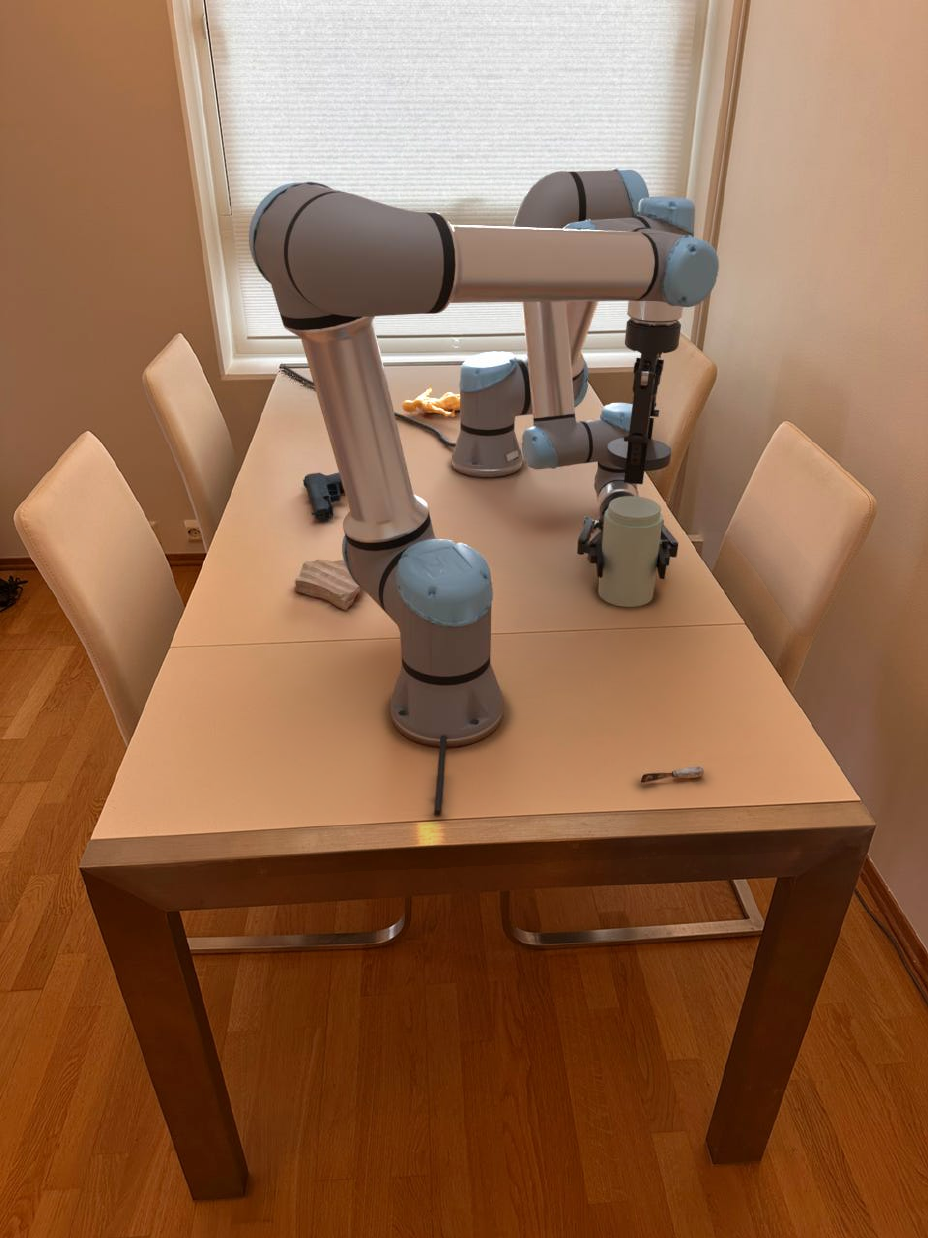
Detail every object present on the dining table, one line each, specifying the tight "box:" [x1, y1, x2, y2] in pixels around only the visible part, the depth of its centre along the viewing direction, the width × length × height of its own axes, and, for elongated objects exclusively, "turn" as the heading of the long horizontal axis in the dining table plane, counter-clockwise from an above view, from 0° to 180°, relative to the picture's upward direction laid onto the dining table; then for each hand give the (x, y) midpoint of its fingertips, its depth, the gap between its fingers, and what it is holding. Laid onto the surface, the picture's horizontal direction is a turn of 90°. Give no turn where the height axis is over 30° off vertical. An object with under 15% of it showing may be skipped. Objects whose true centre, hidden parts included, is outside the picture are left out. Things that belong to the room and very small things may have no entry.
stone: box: [294, 559, 363, 611], centre depth 149 cm, size 13×12×3 cm
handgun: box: [302, 472, 345, 523], centre depth 178 cm, size 3×18×12 cm
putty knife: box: [640, 765, 705, 784], centre depth 109 cm, size 1×8×2 cm, turn 103°
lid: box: [607, 438, 672, 472], centre depth 135 cm, size 10×10×2 cm
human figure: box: [402, 385, 460, 418], centre depth 225 cm, size 20×20×4 cm
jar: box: [597, 496, 664, 608], centre depth 144 cm, size 9×9×16 cm
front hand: (636, 469), depth 136 cm, fingers closed on lid, 9 cm apart
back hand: (631, 570), depth 141 cm, fingers closed on jar, 9 cm apart
